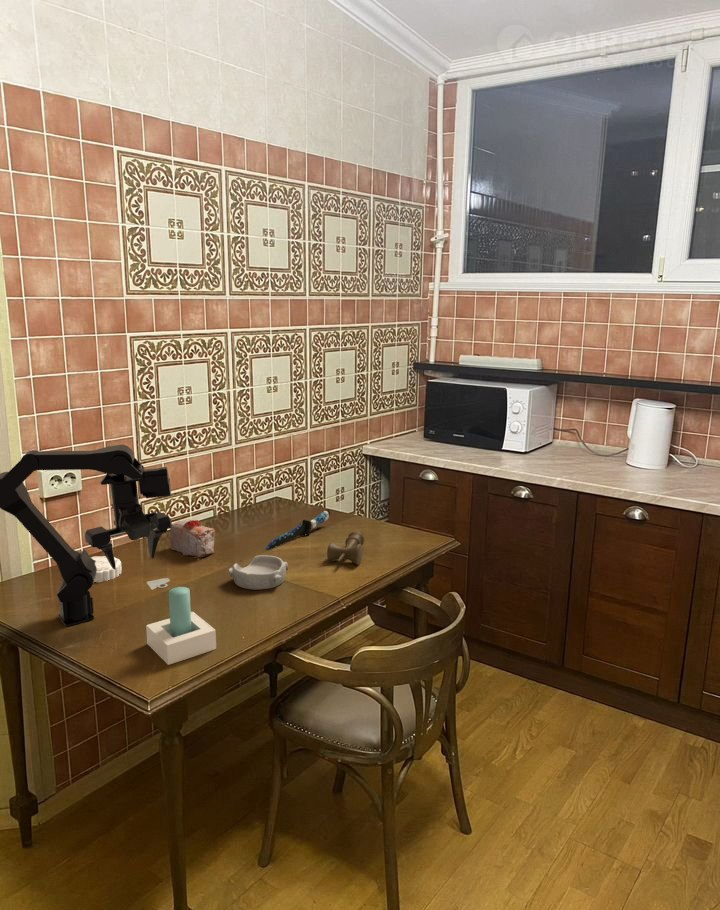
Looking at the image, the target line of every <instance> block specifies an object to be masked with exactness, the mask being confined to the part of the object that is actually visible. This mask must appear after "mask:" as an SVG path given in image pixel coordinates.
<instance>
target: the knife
mask: <svg viewBox="0 0 720 910" xmlns="http://www.w3.org/2000/svg"><path fill="white" fill-rule="evenodd" d="M330 515H331V511H330V509H325V510H324V511H322V512H321V513H320V514H318V515H317V516H316V517H314V518H313V519H311V520H308V519H303V520H302V522H300V523H299V524H298V525H297V526H296V527H294V528H292V529H291V530H289V531H288V532H286V533H283V534H281V535H278V536H277V537H275V538H273V539H272V540H271V541H270V542H269V543H268V544H267V545H266V547H265V550H272V549H274V548H273V547H275V546H277V547H279V546H281V545H280V544H282V545H284V544H286V543H288V542H289V541H291V540H293V539H295V538H297V537H298V536H300V535H301V534H302V533H303V534H302V535H305V534H306V535H305V536H310V534H311V530H313V529H314V528H315V527H317V526H319V525H320V524H322V523H324V522H326V521H327V520H328V519H329V517H330ZM285 542H286V543H285ZM283 543H284V544H283ZM278 545H279V546H278ZM271 548H272V549H271ZM275 548H276V547H275Z"/></svg>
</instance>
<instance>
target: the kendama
mask: <svg viewBox="0 0 720 910" xmlns="http://www.w3.org/2000/svg"><path fill="white" fill-rule="evenodd" d="M344 544H345V547H344V546H343V547H341V546H339V545H338V544H336V543H334V542H330V543H329V544H328V546H327V552H326V557H327V562H329V563H331V562H335V561H338V562H341V561H342V560H348V561H351V562H352V563H353V564H355V565H356V566H359V565H360V564H361V563H362V560H363V544H365V537H364V534H362V533H361V532H359V531H352V532H349V534H348V536H347V537H346V539H345V543H344Z"/></svg>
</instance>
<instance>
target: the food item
mask: <svg viewBox="0 0 720 910" xmlns="http://www.w3.org/2000/svg"><path fill="white" fill-rule="evenodd" d="M169 529H170V530H169V536H170V549H171V550H172V551H177V552H179V553H182V555H183V556H191V557H197V558H203V557H207V556H209V555H212V554H214V553H215V551H214V550H215V549H214V548H215V547H214V545H215V535H216V534H215V528H212V527H207V526H204V525H202V522H200V521H199V520H198V519H194V520H192V519H190V520H188V521H186V520H179V521H177V522H174V523H172V527H171V528H169Z"/></svg>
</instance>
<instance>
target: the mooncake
mask: <svg viewBox="0 0 720 910" xmlns="http://www.w3.org/2000/svg"><path fill="white" fill-rule="evenodd" d="M90 557H91V556H90ZM91 558H92V559H93V560H95V561H96V562H95V566H96V568H97V572H96V576H95V579H94V582H96V583H103V582H109V581H110V580H115V578H118V577H119V576H120V575H121V574H122V571H123V570H122V569H123V568H122V561H121V560H120V559H119V558H117V557H115V556H114V560H115V567H116V569H113V568H112V567H111V565H110V563H109V561H108V560H107V558H106V556H105V555H102V556H95V555H94V556H92V557H91ZM119 574H120V575H119ZM108 580H109V581H108ZM94 582H93V584H95V583H94Z"/></svg>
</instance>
